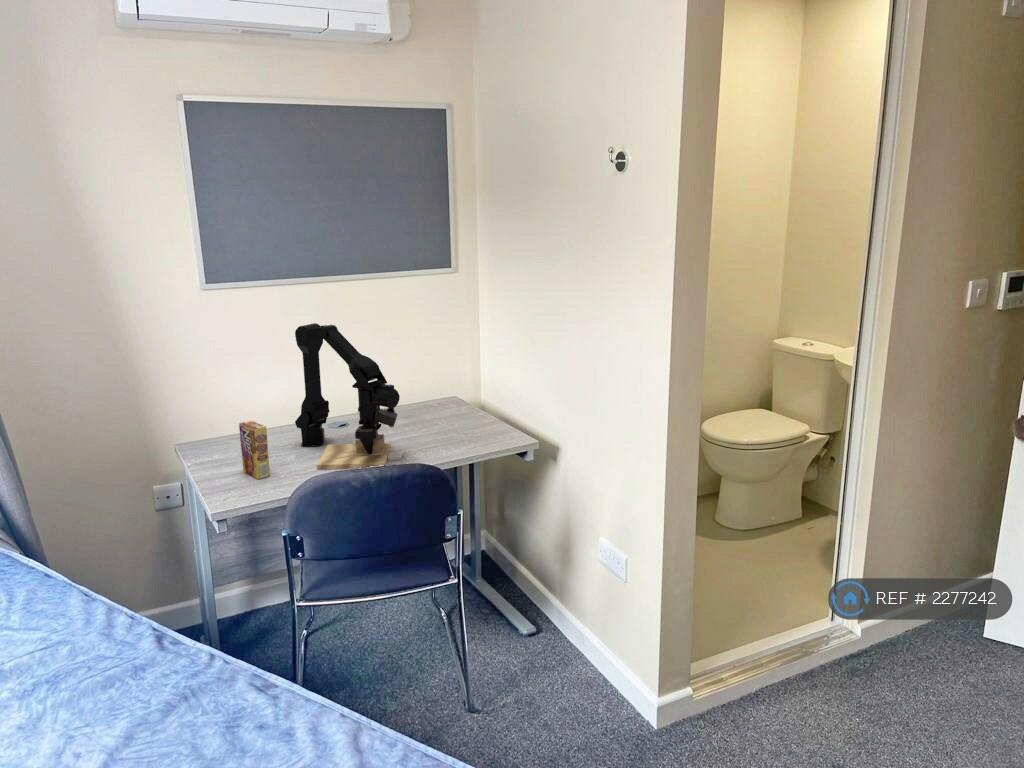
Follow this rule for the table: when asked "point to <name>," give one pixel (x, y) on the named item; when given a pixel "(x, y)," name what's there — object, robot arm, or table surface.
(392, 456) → the white square tile
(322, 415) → the robot arm
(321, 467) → the oak board
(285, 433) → the table surface
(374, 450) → the block
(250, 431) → the candy box
